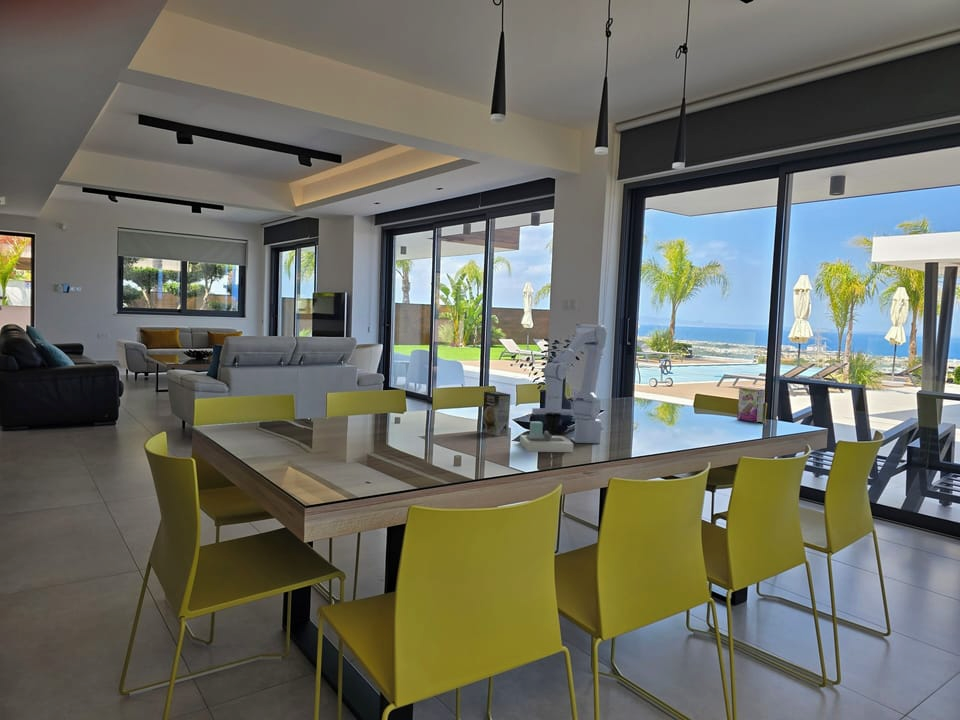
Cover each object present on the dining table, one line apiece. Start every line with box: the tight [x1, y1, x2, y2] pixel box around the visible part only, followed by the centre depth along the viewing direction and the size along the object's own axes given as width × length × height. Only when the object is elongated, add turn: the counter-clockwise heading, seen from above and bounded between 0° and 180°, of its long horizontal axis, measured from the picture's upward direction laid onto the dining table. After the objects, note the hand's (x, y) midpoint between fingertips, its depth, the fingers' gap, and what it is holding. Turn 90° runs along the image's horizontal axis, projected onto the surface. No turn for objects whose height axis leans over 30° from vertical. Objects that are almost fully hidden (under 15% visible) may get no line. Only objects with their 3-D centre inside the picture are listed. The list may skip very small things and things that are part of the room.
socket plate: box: [519, 434, 574, 453], centre depth 221 cm, size 16×14×3 cm
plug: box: [529, 420, 544, 435], centre depth 236 cm, size 4×4×6 cm
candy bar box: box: [736, 386, 766, 424], centre depth 309 cm, size 11×5×16 cm, turn 30°
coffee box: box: [482, 390, 511, 437], centre depth 244 cm, size 9×6×16 cm
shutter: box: [525, 430, 552, 441], centre depth 221 cm, size 8×7×2 cm
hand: (551, 435), depth 221 cm, fingers closed
